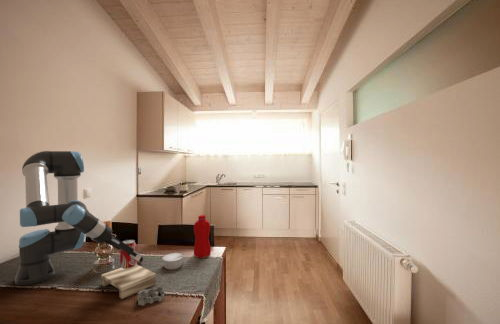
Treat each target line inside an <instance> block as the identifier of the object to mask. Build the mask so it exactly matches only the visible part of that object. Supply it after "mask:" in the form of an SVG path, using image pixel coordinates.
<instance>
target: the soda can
mask: <svg viewBox="0 0 500 324" xmlns="http://www.w3.org/2000/svg"><path fill="white" fill-rule="evenodd" d="M135 241H136V240H135V239H125V240H122V242H123V243H125V244H126V245H128V246H129V247H131V248H132V249H134V251H136V252H137V249H138V248H137V243H136V242H135ZM137 253H138V252H137ZM127 255H128V253H126V252H124V251H123V250H121V249H120V250H119V264H120V268H123V269H129V268H132V267H134V266H135V265H136V264H137V263H136V262H137V260H136V259H134V258H133V257H131V256H130V255H129V256H127Z"/></svg>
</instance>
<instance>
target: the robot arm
mask: <svg viewBox="0 0 500 324" xmlns="http://www.w3.org/2000/svg"><path fill="white" fill-rule="evenodd" d="M21 170H22V171H21V173H22V175H23V177H24V179H25V207H24V208H21V209H19V226H20V227H22V228H29V227H30V228H31V227H37V226H43V225H50V224H57V223H58V224H57V225H56V226H55V227H54V231H50V230H49V229H47V228H44V229H39V230H34V231H30V232H28V233H26V234H24V235H22V236H20V238H19V240H18V242H19V243H18V251H19V257H18V258H19V262H18V263H19V267H18V269H17V272H16V275H15V277H14V284H15V285H16V286H30V285H34V284H39V283H41V282H44V281H46V280H49V279H51V278H52V277H53V276H54V275H55V268H54V265H53V264H52V261H51V255H54V254H55V255H56V254H60V253H65V252H69V251H74V250H78V249H80V248H82V247H83V245H84V242H85V238H90V239H92V240H93V241H94V242H96V243H98V244H103V243H105V244H108V245H110V246H112V247H113V248H115V249H117V251H120V249H121V250H123V251H124V252H126V253H128V255H127V256H129V255H130V256H131V257H133V258H134V259H136V260H137V261H139V260H140V258H141V257H143V255H141V254H140V253H139V252H136V251H134V249H132V248H131V247H129V246H128V245H126V244H125V243H123V240H122V241H121V239H119V238H118V237H117V236H116V235H114V234H112V233H113V229H112V228H111V227H110V226H109V225H107V224H106V223H105V222H103V221H102V220H101V219H100V218H98V217H96V216H95V215H93V214H92V213H90V211H89V210H88V208H87V206H86V204H85V203H84V202H82V201H81V200H78V197H79V195H78V179H79V178H80V177H81V174H82V173H84V172H85V165H84V159H83V156H82V154H81V152H78V151H71V150H69V151H67V150H64V151H63V150H62V151H60V150H55V151H54V150H43V151H39V152H35V153H34V154H32V155H31V156H29V157H28V158H27V159H26V160H25V161H24V163H23V165H22V168H21ZM48 174H53V177H54V179H56V180H57V204H54V205H53V204H52V205H51V204H50V197H49V189H48V180H47V175H48Z"/></svg>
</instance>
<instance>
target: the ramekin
mask: <svg viewBox="0 0 500 324" xmlns="http://www.w3.org/2000/svg"><path fill="white" fill-rule="evenodd" d="M183 259H184V255H183V254H182V253H179V252H172V253H168V254H166V255H164V256H162V262H163V267H164V268H165V269H166V270H176V269H179V268H181V266H182V264H183V261H184V260H183Z"/></svg>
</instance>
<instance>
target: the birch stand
mask: <svg viewBox="0 0 500 324" xmlns="http://www.w3.org/2000/svg"><path fill="white" fill-rule="evenodd" d="M156 278H157V275H156V272H153V271H151V270H149V269H148V268H146V267H144V266H142V267H141V266H139V265H137V263H136V265H135V266H134V267H132V268H129V269H123V268H121V267H119V268H117V269H116V268H115V269H114V270H112V271H108V272H105V273H102V274H101V286H102V287H107V286H109V285H112V286H113V287H115V288H116V289H117V290H118V295H119V299H121V300H124V299H125V298H127V297H130V296H132V295H134V294H136V293H137V294H138V293H139V292H140V291H141V290H147V288H148V289H149V287H152V286H153V285H156V284H157V280H156ZM138 291H139V292H138Z"/></svg>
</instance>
